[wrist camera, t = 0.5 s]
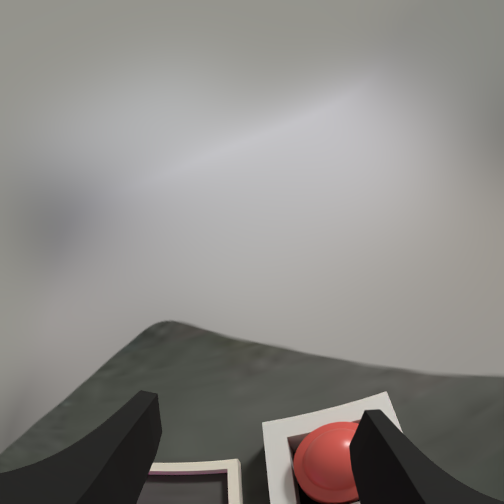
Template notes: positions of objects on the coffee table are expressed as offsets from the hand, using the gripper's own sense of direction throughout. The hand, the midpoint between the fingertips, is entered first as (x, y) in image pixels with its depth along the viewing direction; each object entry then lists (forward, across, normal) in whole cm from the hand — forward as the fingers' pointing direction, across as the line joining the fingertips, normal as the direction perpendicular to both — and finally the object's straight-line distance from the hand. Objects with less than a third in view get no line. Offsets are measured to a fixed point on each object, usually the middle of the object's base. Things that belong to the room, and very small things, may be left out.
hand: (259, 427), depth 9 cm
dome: (+8, -8, +14) cm, 18 cm away
